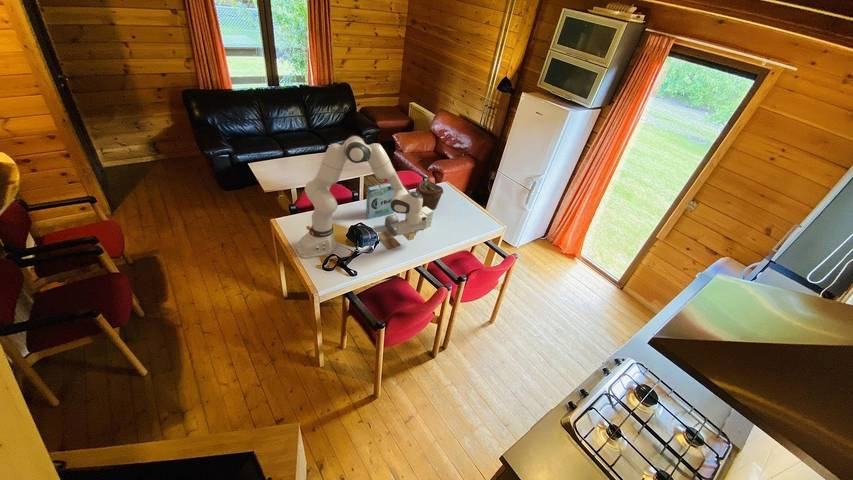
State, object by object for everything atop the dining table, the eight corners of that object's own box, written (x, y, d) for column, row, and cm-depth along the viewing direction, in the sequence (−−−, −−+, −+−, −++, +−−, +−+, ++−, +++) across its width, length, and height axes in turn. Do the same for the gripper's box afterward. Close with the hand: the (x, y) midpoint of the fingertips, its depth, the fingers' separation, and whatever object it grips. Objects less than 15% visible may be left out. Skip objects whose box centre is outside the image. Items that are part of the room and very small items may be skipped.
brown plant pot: (415, 197, 275) (418, 176, 264) (441, 202, 275) (445, 181, 264) (411, 209, 261) (414, 188, 250) (439, 215, 261) (443, 193, 250)
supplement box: (415, 224, 247) (418, 209, 239) (423, 221, 252) (425, 205, 244) (423, 230, 243) (426, 214, 236) (431, 226, 248) (433, 210, 240)
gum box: (390, 209, 258) (393, 181, 244) (394, 213, 254) (396, 184, 241) (365, 215, 248) (366, 186, 234) (368, 219, 245) (370, 190, 231)
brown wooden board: (388, 249, 223) (388, 248, 222) (375, 235, 232) (375, 234, 232) (400, 245, 227) (400, 244, 227) (387, 231, 237) (387, 230, 237)
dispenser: (402, 233, 237) (404, 221, 231) (394, 236, 234) (395, 224, 228) (393, 223, 244) (394, 212, 239) (384, 226, 241) (385, 214, 235)
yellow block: (413, 239, 224) (414, 233, 222) (408, 240, 222) (409, 235, 219) (403, 228, 231) (403, 223, 229) (397, 230, 229) (398, 224, 227)
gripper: (400, 224, 207) (398, 243, 215) (429, 216, 218) (426, 235, 226) (395, 218, 211) (392, 237, 219) (423, 211, 222) (420, 229, 230)
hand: (410, 236), depth 223 cm, fingers closed on yellow block, 4 cm apart
